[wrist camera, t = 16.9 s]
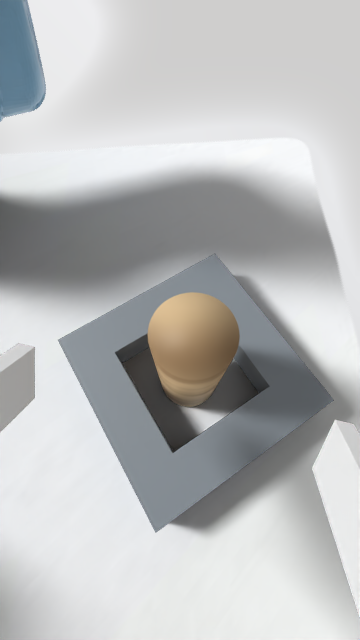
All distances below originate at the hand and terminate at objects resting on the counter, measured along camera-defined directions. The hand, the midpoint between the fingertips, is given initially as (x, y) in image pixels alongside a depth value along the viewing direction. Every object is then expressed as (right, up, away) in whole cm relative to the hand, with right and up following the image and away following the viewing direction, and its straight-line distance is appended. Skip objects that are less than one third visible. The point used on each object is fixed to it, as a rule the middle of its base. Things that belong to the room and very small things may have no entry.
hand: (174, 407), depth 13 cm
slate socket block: (+1, -1, +14) cm, 14 cm away
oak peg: (+1, -2, +14) cm, 14 cm away
